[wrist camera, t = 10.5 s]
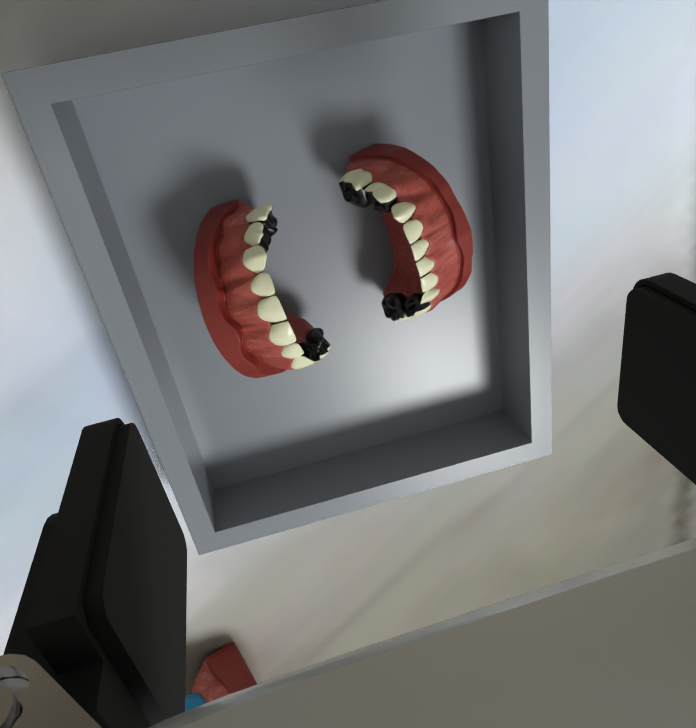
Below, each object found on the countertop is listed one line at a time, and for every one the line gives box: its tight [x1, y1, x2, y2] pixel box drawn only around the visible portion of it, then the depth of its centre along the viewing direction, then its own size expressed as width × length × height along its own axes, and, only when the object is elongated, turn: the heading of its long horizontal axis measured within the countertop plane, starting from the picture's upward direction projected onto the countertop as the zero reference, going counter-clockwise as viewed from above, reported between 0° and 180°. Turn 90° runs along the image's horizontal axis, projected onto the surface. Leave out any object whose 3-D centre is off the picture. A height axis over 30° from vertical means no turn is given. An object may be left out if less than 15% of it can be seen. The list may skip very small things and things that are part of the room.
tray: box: [1, 0, 552, 555], centre depth 19 cm, size 16×14×3 cm
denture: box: [193, 144, 473, 378], centre depth 18 cm, size 6×4×8 cm
